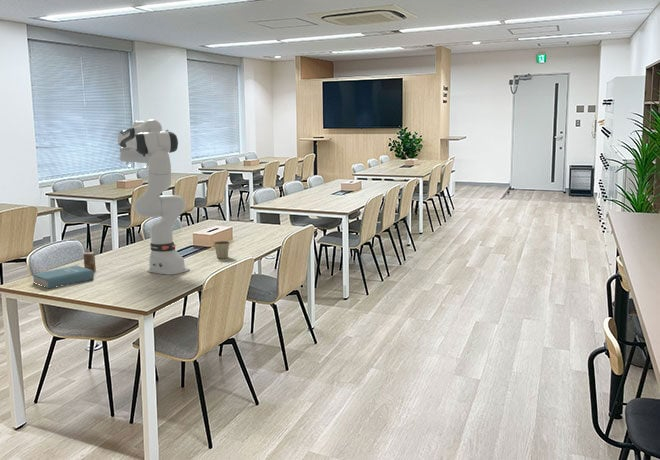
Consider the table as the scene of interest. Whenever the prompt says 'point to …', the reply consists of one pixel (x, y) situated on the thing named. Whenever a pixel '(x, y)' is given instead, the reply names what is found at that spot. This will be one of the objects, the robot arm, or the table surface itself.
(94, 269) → the walnut block
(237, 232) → the table surface
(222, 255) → the flower pot
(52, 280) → the book
